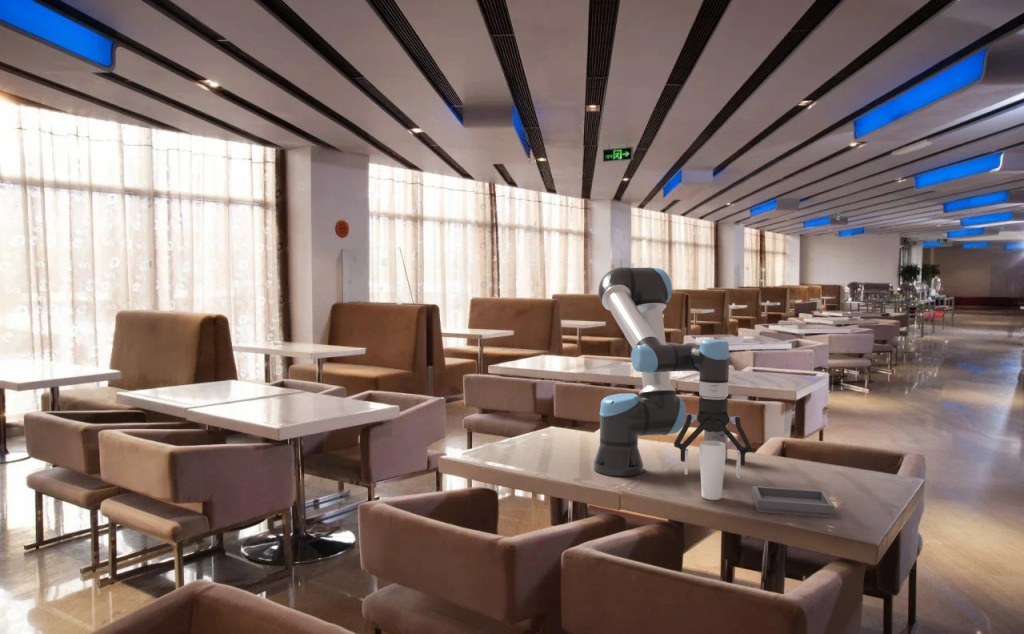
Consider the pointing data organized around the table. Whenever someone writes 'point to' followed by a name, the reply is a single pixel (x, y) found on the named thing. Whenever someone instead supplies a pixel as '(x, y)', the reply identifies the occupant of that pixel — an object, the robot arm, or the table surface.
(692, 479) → the table surface
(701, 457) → the drinking glass
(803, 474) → the table surface
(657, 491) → the table surface
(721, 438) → the juice carton
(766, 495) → the tray
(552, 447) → the table surface
